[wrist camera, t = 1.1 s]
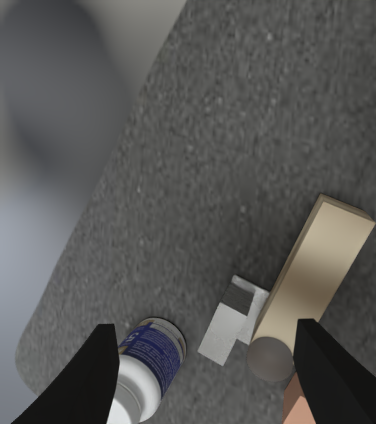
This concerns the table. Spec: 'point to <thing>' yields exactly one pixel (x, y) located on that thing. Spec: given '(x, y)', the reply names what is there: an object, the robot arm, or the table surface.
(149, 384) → the pill bottle
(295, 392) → the block
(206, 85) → the table surface
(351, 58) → the table surface
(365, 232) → the birch leg
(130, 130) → the table surface
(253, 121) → the table surface
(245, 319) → the hinge bracket
